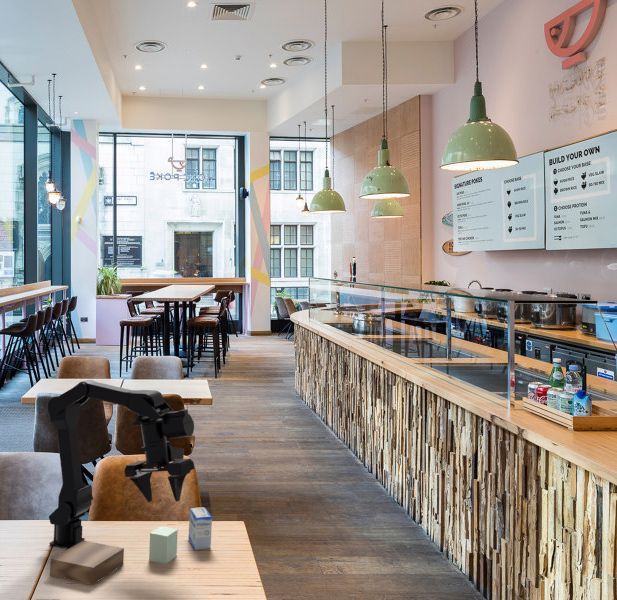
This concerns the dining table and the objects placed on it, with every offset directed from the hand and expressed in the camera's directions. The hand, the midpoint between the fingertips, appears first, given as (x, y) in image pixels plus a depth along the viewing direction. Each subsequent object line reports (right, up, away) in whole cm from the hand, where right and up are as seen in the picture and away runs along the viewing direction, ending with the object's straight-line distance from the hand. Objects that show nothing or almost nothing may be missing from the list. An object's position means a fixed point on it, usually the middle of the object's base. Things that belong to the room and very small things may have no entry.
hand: (163, 501), depth 162 cm
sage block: (0, -15, 0) cm, 15 cm away
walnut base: (-17, -14, -8) cm, 23 cm away
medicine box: (+7, -15, +11) cm, 20 cm away
